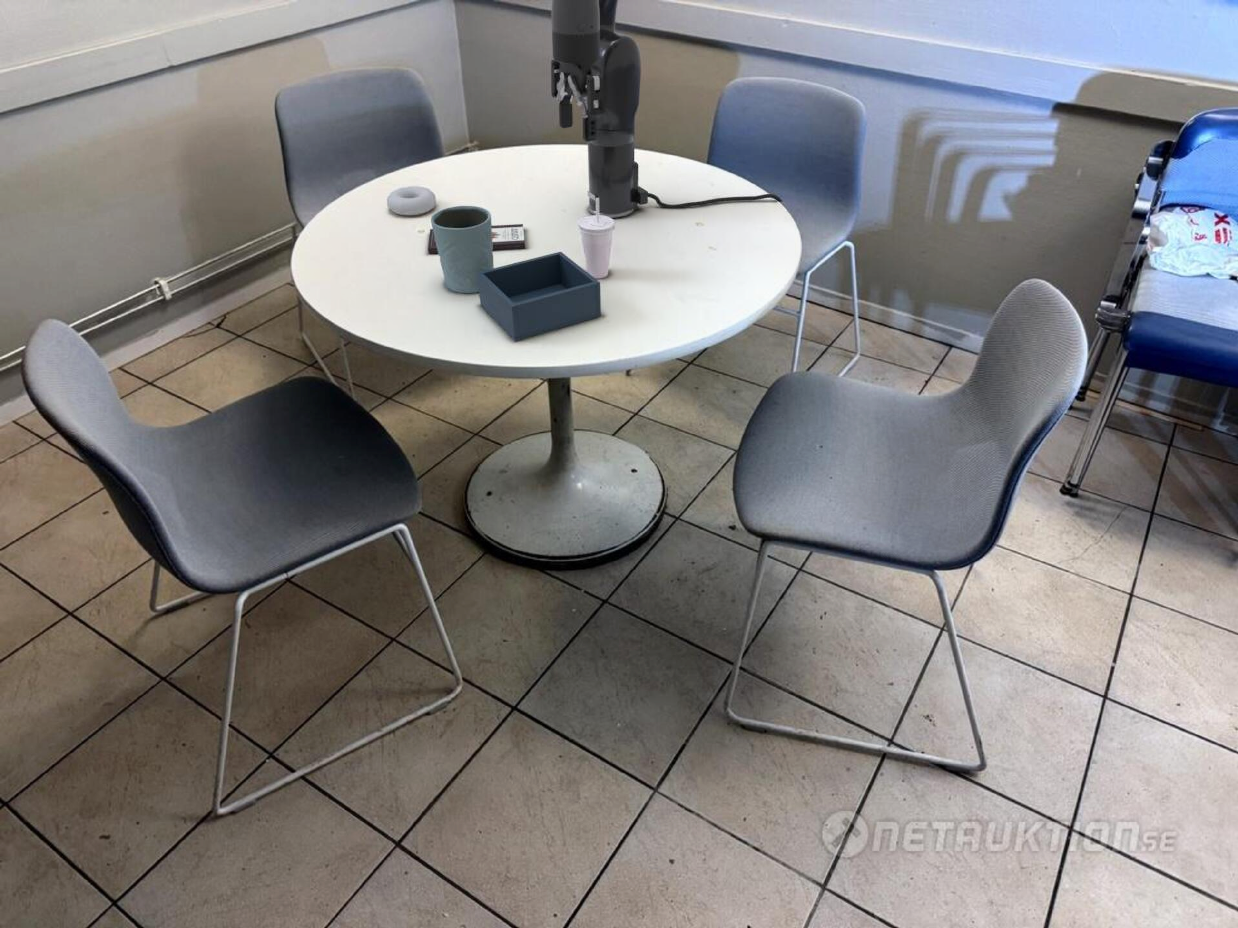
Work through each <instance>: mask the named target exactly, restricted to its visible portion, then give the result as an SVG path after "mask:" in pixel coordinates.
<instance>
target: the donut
mask: <svg viewBox="0 0 1238 928" xmlns="http://www.w3.org/2000/svg"><path fill="white" fill-rule="evenodd" d="M436 204H437V198H436V195H435V193H434V192H433V191H432V190H431V189H429V188H427V187H424V186H419V185H418V186H417V185H411V186H404V187H400V188H396V189H394V190H392V191H391V192H390V193H389V194H388V196H387V198H386V205H387V208H388V209H389V210H390V211H391V212H392V213H394V214H396V215H401V216H418V215H422V214H423V215H424V214H425V213H427V212H430V211H431V210H433V208H434V207H435V206H436Z"/></svg>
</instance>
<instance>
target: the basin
mask: <svg viewBox="0 0 1238 928" xmlns="http://www.w3.org/2000/svg"><path fill="white" fill-rule="evenodd" d="M477 279H478V287H479V292H478V294H479V295H478V296H479V302H480V303H479V304H480V307H481V308H482V309H483V310H484V311H485V312H486V313H487V314H488V315H489V316H490V317H491V318H492V319H493V321H495V322H496V324H498V325H499V326H500V327H501V328H502V329H503V331H505V333H506V334H508V336H509V337H510V338H511V339H512V340H513V341H514V342H519V341H521V340H524V339H527V338H528V339H529V338H531V337H535V336H537V335H541V334H545V333H548V332H551V331H555V330H558V329H562V328H566V327H568V326H573V325H575V324H579V323H583V322H586V321H589V320H593V319H596V318H599V317H602V300H601V282H600V280H598V279H597V278H594V277H592V276H591V275H590V274H589V273H587V270H585V269H584V268H583V267H581V266H580V265H579V264H577V263H576V262H575V261H573V260H572V259H571V258H570V257H568V256H567V254H565V253H564V252H563V251H558V252H554V253H549V254H545V255H542V256H537V257H533V258H529V259H525V260H521V261H518V262H513V263H510V264H509V263H508V264H505V265H501V266H498V267H494V268H493V269H489V270H485V271H481V272H478V273H477Z"/></svg>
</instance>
